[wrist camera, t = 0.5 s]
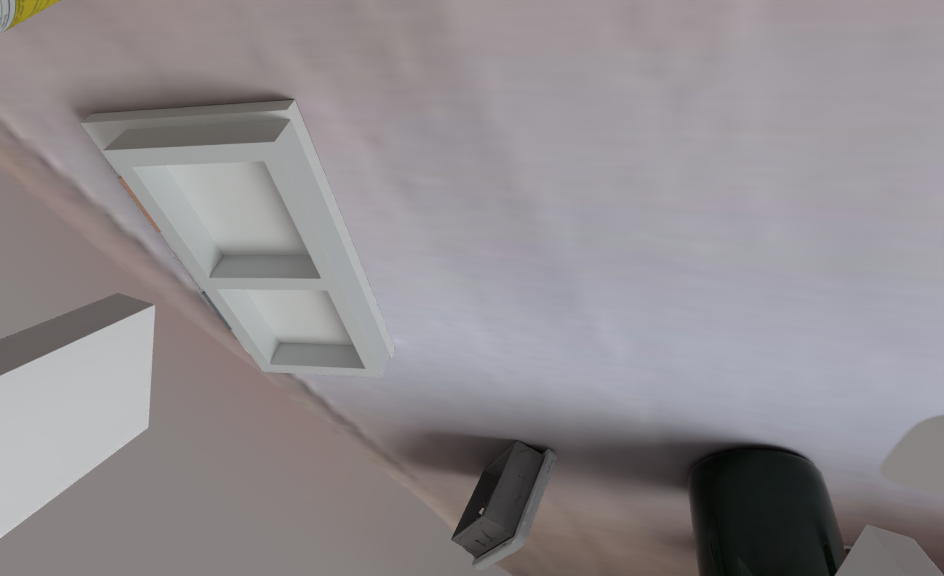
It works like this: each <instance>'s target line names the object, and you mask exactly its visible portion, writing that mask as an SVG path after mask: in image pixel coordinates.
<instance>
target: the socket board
mask: <svg viewBox="0 0 944 576" xmlns="http://www.w3.org/2000/svg"><path fill="white" fill-rule="evenodd" d="M81 125H82V126H83V127H84V129H85V130H86V132H87V133H88V134H89V136H90V137H91V138H92V140H93V141H94V143H95V144H96V145H97V147H98V148H99V149H100V151H101V152H102V154H103V155H104V156H105V158H106V159H107V160H108V162H109V163H110V165H111V166H112V167H113V169H114V170H115V171H116V173H117V174H118V176H119V177H118V179H119V180H120V182H121V183H122V184H123V186H124V187H125V188H126V190H127V191H128V192H129V194H130V195H131V197H132V198H133V199H134V201H135V202H136V203H137V205H138V206H139V207H140V209H141V210H142V212H143V213H144V214H145V216H146V217H147V218H148V220H149V221H150V223H151V224H152V225H153V227H154V228H155V229H156V231H157V232H160V233H161V235H162V236H163V237H164V239H165V240H166V241H167V243H168V244H169V246H170V247H171V248H172V250H173V251H174V252H175V254H176V255H177V257H178V258H179V259H180V261H181V262H182V263H183V265H184V266H185V268H186V269H187V270H188V272H189V273H190V274H191V276H192V277H193V279H194V280H195V281H196V283H197V284H198V285H199V287H200V288H201V290H202V291H203V292H202V294H203V295H204V296H205V298H206V299H207V300H208V302H209V303H210V305H211V306H212V307H213V309H214V310H215V311H216V313H217V314H218V315H219V317H220V318H221V320H222V321H223V322H224V324H225V325H226V326H227V328H228V329H229V330H231V331H232V332H233V334H234V335H235V336H236V338H237V339H238V340H239V342H240V343H241V345H242V346H243V347H244V349H245V350H246V351H247V353H250V355H251V356H252V357H253V359H254V360H255V361H256V363H257V364H258V366H259V367H260V368H261V370H262V371H263V372H279V373H299V374H319V375H340V376H360V377H380V378H383V375H384V372H385V369H386V366H387V362H388V359H392V356H393V353H394V350H395V347H394V345H393V342H392V340H391V337H390V335H389V332H388V330H387V327H386V325H385V322H384V320H383V317H382V315H381V312H380V310H379V307H378V305H377V302H376V300H375V297H374V295H373V292H372V290H371V288H370V285H369V283H368V280H367V278H366V275H365V273H364V270H363V268H362V265H361V263H360V260H359V258H358V255H357V253H356V250H355V248H354V245H353V243H352V240H351V238H350V236H349V233H348V231H347V228H346V226H345V223H344V221H343V218H342V216H341V213H340V211H339V208H338V206H337V203H336V201H335V198H334V196H333V193H332V191H331V188H330V186H329V183H328V181H327V179H326V176H325V174H324V171H323V169H322V166H321V164H320V161H319V159H318V156H317V154H316V151H315V149H314V146H313V144H312V141H311V139H310V136H309V134H308V131H307V129H306V126H305V124H304V122H303V119H302V117H301V114H300V112H299V109H298V107H297V104H296V102H295V100H284V101H270V102H255V103H240V104H226V105H211V106H197V107H182V108H167V109H153V110H138V111H124V112H109V113H94V114H91V115H90V116H89V117H88V118H86V119H85V120H84V121H83V122H81Z"/></svg>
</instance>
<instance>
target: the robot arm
mask: <svg viewBox="0 0 944 576" xmlns="http://www.w3.org/2000/svg"><path fill="white" fill-rule="evenodd" d="M154 315H155V304H152V303H148V302H145V301H142V300H139V299H135V298H132V297H129V296H126V295H122V294H119V293H116V294H114V295H111V296H109V297H106V298H104V299H102V300H99V301H96V302H94V303H91V304H89V305H86V306H83V307H81V308H78V309H76V310H73V311H71V312H68V313H66V314H63V315H61V316H58V317H56V318H53V319H51V320H49V321H46V322H43V323H40V324H38V325H35V326H33V327H30V328H28V329H25V330H23V331H20V332H18V333H15V334H13V335H10V336H7V337H5V338H2V339H0V538H1V537H2V536H4V535H5V534H6V533H8V532H9V531H10V530H12V529H13V528H14V527H15V526H17V525H18V524H20V523H21V522H22V521H24V520H25V519H26V518H28V517H29V516H30V515H32V514H33V513H34V512H36V511H37V510H38V509H40V508H41V507H42V506H44V505H45V504H46V503H48V502H49V501H50V500H52V499H53V498H54V497H56V496H57V495H58V494H60V493H61V492H62V491H64V490H65V489H66V488H68V487H69V486H70V485H72V484H73V483H75V482H76V481H77V480H78V479H80V478H81V477H82V476H84V475H85V474H87V473H88V472H89V471H91V470H92V469H93V468H95V467H96V466H97V465H99V464H100V463H101V462H103V461H104V460H105V459H106V458H108V457H109V456H111V455H112V454H113V453H115V452H116V451H117V450H119V449H120V448H121V447H123V446H124V445H125V444H126V443H128V442H129V441H131V440H132V439H133V438H135V437H136V436H137V435H138V434H140V433H141V432H142V431H144V430H145V429H147V428H148V423H149V422H148V421H149V405H150V387H151V369H152V352H153V334H154ZM835 576H944V575H943V574H942V573H941V572H940V570H939V569H938V568H937V567H936V566H935V564H934V563H933V562H932V561H931V560H930V558H929V557H928V556H927V555H926V554H925V552H924V551H923V550H922V549H921V548H920V546H919V545H918V544H917V543H916V542H915V540H914V539H912V538H909V537H906V536H903V535H900V534H896V533H893V532H890V531H887V530H883V529H880V528H877V527H874V526H870V525H866V527H865V528H864V530H863V532H862V533H861V535H860V536H859V538H858V540H857V541H856V543H855V544H854V546H853V548H852V549H851V551H850V552H849V554H848V555H847V557H846V559H845V560H844V562H843V563H842V565H841V567H840V568H839V570H838V571H837V573H836V575H835Z"/></svg>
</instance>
